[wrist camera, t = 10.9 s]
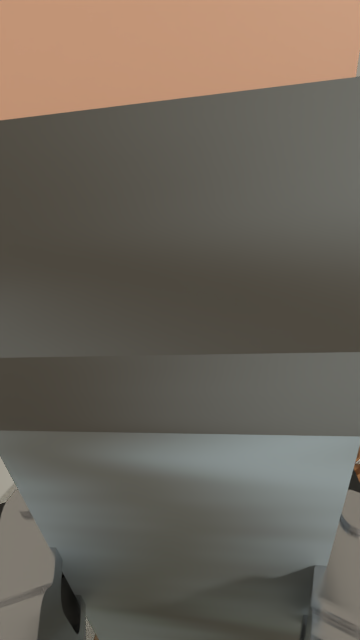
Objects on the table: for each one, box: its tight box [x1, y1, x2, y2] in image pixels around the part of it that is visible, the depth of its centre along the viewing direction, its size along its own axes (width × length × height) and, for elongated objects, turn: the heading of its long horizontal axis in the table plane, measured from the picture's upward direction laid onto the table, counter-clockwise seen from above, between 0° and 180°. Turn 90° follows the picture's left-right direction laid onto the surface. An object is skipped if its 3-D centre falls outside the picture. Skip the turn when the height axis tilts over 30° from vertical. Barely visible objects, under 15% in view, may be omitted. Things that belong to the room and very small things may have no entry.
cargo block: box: [0, 0, 360, 120], centre depth 4 cm, size 4×4×4 cm
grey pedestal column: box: [0, 77, 360, 640], centre depth 9 cm, size 8×8×17 cm
